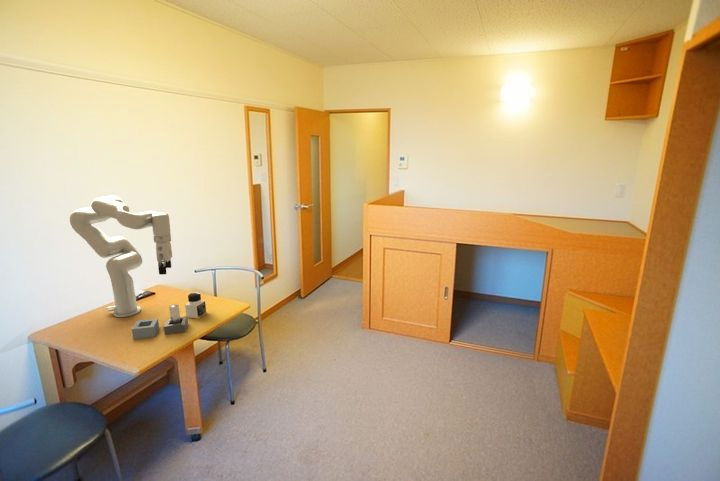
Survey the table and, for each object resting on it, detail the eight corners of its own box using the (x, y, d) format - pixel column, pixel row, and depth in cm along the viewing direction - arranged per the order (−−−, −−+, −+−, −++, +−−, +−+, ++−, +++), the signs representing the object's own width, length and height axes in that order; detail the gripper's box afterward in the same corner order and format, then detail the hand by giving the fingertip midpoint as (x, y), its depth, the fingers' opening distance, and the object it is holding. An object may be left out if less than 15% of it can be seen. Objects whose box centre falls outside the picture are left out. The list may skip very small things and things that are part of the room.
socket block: (133, 339, 168) (131, 329, 167) (138, 330, 176) (137, 320, 175) (154, 336, 170) (153, 326, 169) (159, 327, 179) (158, 318, 177)
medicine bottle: (198, 318, 189) (195, 297, 186) (186, 317, 190) (183, 295, 187) (206, 312, 195) (204, 291, 192) (194, 311, 197) (192, 290, 194)
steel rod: (171, 331, 175) (168, 308, 172) (173, 327, 179) (170, 304, 176) (180, 330, 176) (177, 307, 174) (182, 326, 180) (179, 304, 177)
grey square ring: (164, 334, 172) (163, 326, 171) (168, 325, 181) (167, 318, 180) (185, 331, 175) (184, 324, 174) (188, 323, 183) (187, 316, 182)
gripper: (166, 242, 172) (169, 276, 176) (174, 233, 188) (177, 265, 193) (148, 242, 170) (152, 277, 175) (158, 234, 186) (161, 265, 191)
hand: (165, 270), depth 184 cm, fingers open, 9 cm apart
